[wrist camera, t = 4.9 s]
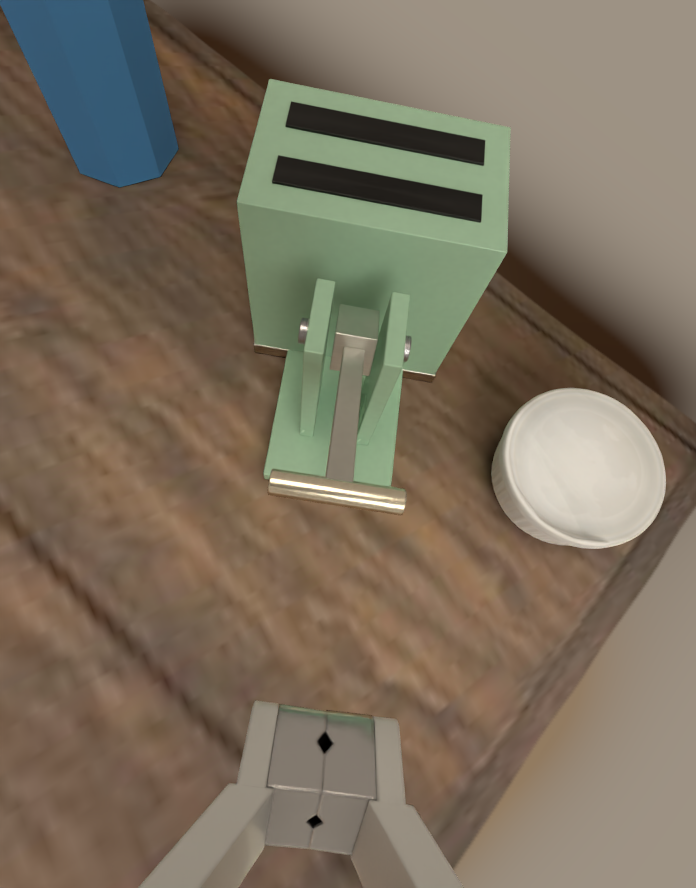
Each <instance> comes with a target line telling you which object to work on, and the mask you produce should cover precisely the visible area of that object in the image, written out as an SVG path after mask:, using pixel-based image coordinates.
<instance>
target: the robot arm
mask: <svg viewBox="0 0 696 888" xmlns="http://www.w3.org/2000/svg"><path fill="white" fill-rule="evenodd" d="M278 706H279V709H278ZM277 714H278V715H277ZM276 720H277V721H276ZM264 845H267V846H279V847H291V848H303V849H312V850H319V851H326V852H333V853H339V854H346V855H352V856H351V860H352V862H353V864H354V867H355V869H356V872H357V874H358V876H359V879H360V881H361V883H362V886H363V888H464V887H463V885H462V884H461V882H460V880H459V879H458V877H457V876H456V874H455V872H454V871H453V869H452V867H451V866H450V864H449V863H448V861H447V859H446V858H445V856H444V855H443V853H442V851H441V850H440V848H439V846H438V845H437V843H436V842H435V840H434V838H433V837H432V835H431V834H430V832H429V830H428V829H427V827H426V825H425V824H424V822H423V821H422V819H421V817H420V816H419V814H418V813H417V811H416V809H415V808H414V806H413V805H407V804H406V801H405V789H404V777H403V766H402V754H401V742H400V730H399V724H398V721H397V719H394V718H385V717H375V716H372V715H366V714H358V713H349V712H340V711H331V710H326V711H324V710H317V709H311V708H304V707H297V706H291V705H284V704H279V703H271V702H264V701H256V700H255V702H254V705H253V707H252V711H251V716H250V721H249V726H248V731H247V735H246V740H245V745H244V750H243V755H242V759H241V764H240V769H239V774H238V778H237V783H236V784H233V783H229V784H228V785H227V786H226V787H225V788H224V789H223V790H222V792H221V793H220V794H219V795H218V796H217V797H216V799H215V800H214V801H213V802H212V803H211V804H210V805H209V807H208V808H207V809H206V810H205V811H204V812H203V813H202V815H201V816H200V817H199V818H198V819H197V820H196V822H195V823H194V824H193V825H192V826H191V827H190V828H189V830H188V831H187V832H186V833H185V834H184V835H183V837H182V838H181V839H180V840H179V841H178V842H177V843H176V845H175V846H174V847H173V848H172V849H171V850H170V851H169V853H168V854H167V855H166V856H165V857H164V858H163V860H162V861H161V862H160V863H159V864H158V865H157V866H156V868H155V869H154V870H153V871H152V872H151V873H150V875H149V876H148V877H147V878H146V879H145V880H144V881H143V883H142V884H141V885H140V886H139V887H138V888H238V887H239V886H240V884H241V883H242V881H243V880H244V878H245V877H246V875H247V873H248V872H249V870H250V869H251V867H252V866H253V864H254V863H255V861H256V860H257V858H258V857H259V855H260V854H261V852H262V851H263V849H264Z"/></svg>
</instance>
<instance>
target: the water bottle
mask: <svg viewBox="0 0 696 888" xmlns="http://www.w3.org/2000/svg"><path fill="white" fill-rule="evenodd" d="M0 5H1V7H2V9H3V11H4V14H5V16H6V18H7V20H8V22H9V24H10V26H11V28H12V30H13V32H14V35H15V37H16V39H17V41H18V43H19V45H20V47H21V49H22V51H23V54H24V56H25V58H26V60H27V62H28V64H29V66H30V68H31V70H32V73H33V75H34V77H35V79H36V81H37V83H38V85H39V87H40V89H41V92H42V94H43V96H44V98H45V100H46V102H47V104H48V106H49V108H50V110H51V113H52V115H53V117H54V119H55V121H56V123H57V125H58V127H59V129H60V132H61V134H62V136H63V138H64V140H65V142H66V144H67V146H68V148H69V151H70V153H71V155H72V157H73V159H74V161H75V163H76V165H77V167H78V169H79V172H80V173H81V174H84V175H86V176H89V177H92V178H95V179H97V180H100V181H103V182H106V183H108V184H111V185H114V186H117V187H123V186H127V185H131V184H135V183H138V182H142V181H146V180H150V179H154V178H158V177H161V175H162V174H163V172H164V171H165V169H166V168H167V166H168V164H169V163H170V161H171V160H172V158H173V157H174V155H175V154H176V152H177V151H178V149H179V148H178V144H177V140H176V136H175V132H174V128H173V123H172V119H171V115H170V111H169V107H168V103H167V98H166V94H165V90H164V86H163V82H162V77H161V73H160V69H159V65H158V61H157V57H156V52H155V48H154V44H153V40H152V36H151V32H150V27H149V23H148V19H147V15H146V11H145V7H144V2H143V0H0Z"/></svg>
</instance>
